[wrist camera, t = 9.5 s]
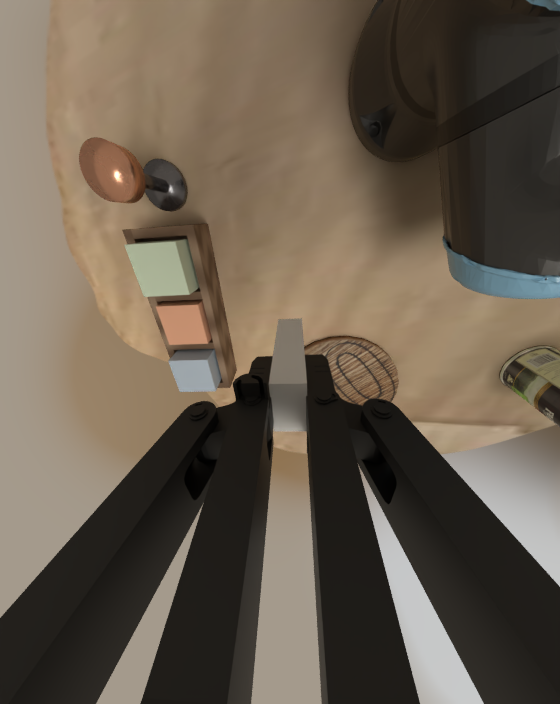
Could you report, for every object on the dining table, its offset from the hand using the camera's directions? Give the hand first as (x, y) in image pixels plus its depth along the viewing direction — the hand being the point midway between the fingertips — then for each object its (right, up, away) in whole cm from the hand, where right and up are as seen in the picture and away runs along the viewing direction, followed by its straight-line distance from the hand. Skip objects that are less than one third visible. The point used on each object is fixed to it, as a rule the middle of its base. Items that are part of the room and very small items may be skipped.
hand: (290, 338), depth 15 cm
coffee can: (+50, -4, +30) cm, 58 cm away
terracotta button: (-16, +5, +25) cm, 30 cm away
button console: (-16, +7, +28) cm, 33 cm away
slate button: (-16, -3, +28) cm, 32 cm away
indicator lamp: (-17, +23, +18) cm, 34 cm away
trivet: (+12, -8, +36) cm, 39 cm away
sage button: (-17, +12, +19) cm, 28 cm away
